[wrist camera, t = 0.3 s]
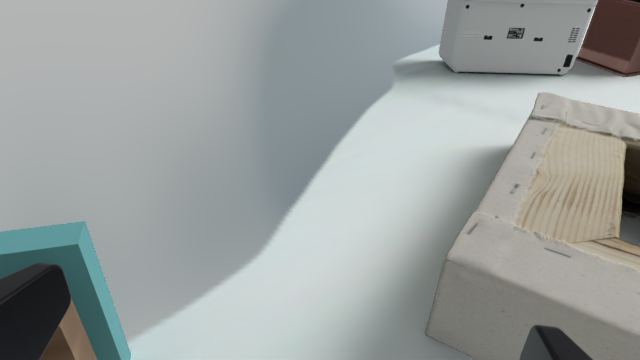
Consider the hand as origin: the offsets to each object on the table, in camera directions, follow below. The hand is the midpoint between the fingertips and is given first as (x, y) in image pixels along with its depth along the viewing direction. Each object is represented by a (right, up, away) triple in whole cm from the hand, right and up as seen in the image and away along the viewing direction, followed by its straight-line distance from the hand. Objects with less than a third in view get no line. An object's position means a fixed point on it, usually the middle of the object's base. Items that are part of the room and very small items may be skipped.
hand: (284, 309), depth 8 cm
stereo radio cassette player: (+32, +21, +64) cm, 75 cm away
